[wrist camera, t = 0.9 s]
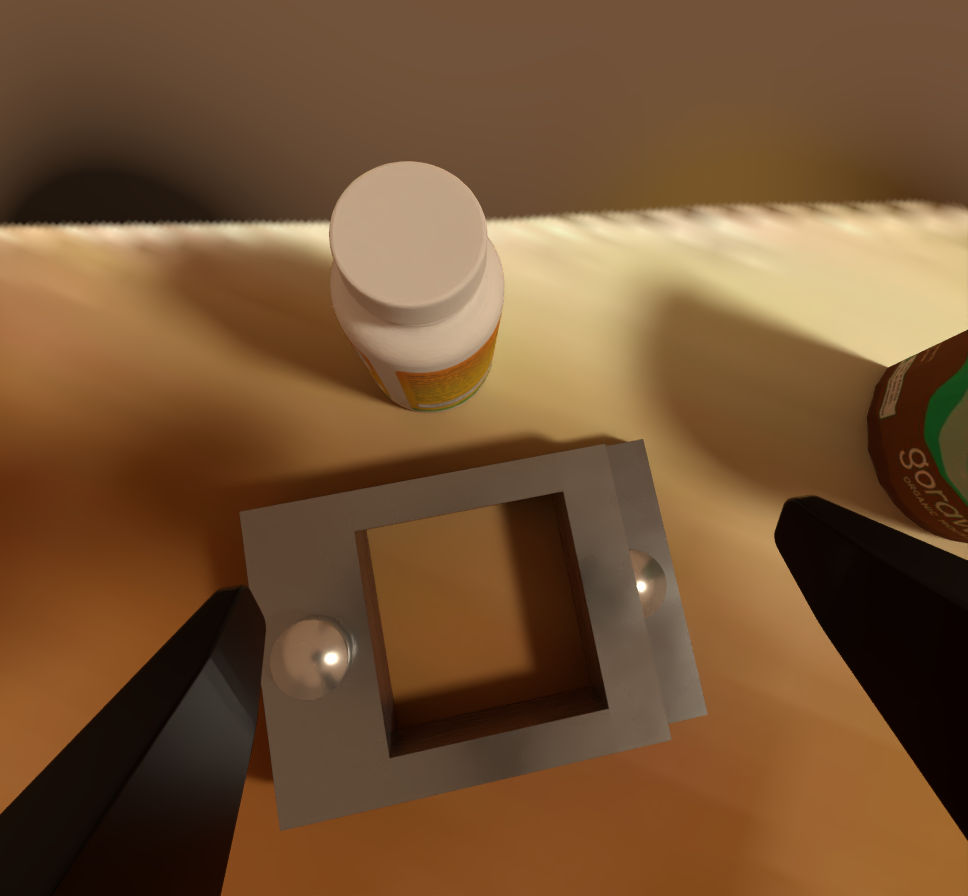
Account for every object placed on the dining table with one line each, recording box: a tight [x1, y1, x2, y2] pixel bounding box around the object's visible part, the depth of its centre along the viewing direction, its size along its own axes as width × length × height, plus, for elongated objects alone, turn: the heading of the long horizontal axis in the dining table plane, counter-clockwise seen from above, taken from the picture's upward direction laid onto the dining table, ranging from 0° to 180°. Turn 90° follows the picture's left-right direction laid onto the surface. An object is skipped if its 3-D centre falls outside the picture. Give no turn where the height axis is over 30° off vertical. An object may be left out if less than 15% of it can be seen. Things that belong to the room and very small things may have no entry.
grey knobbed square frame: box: [239, 439, 708, 831], centre depth 19 cm, size 16×11×3 cm
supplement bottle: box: [329, 161, 504, 413], centre depth 17 cm, size 5×5×10 cm
